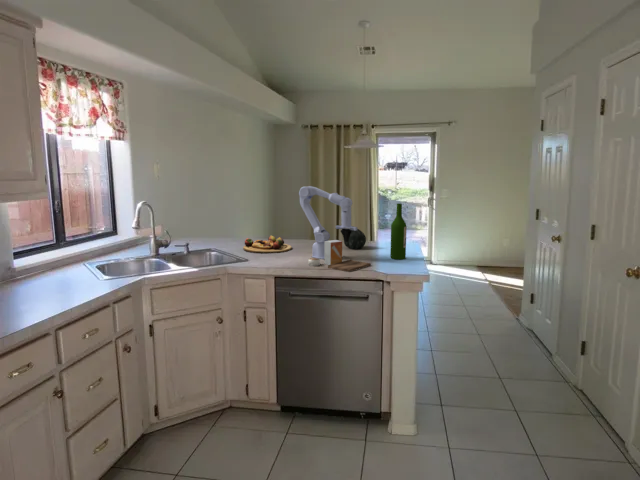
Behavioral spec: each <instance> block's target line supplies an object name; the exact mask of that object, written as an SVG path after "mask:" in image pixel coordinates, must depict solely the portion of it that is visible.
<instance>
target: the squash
mask: <svg viewBox="0 0 640 480" xmlns="http://www.w3.org/2000/svg"><path fill="white" fill-rule="evenodd" d="M366 242H367V237H366V235H365V233H364V232H363V231H362V230H361V229H359V228H357V230H356V231H354V230H352V232H351V234H350V237H349V241H348V242H344V241H343V243H344V246H345V247H347V248H349V249H352V250H354V249H355V250H360V249H362V248H363V247H364V246H365V245H366Z"/></svg>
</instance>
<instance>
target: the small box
mask: <svg viewBox="0 0 640 480" xmlns="http://www.w3.org/2000/svg"><path fill="white" fill-rule="evenodd" d="M323 260H324V262H323V263H324V264H325V265H327V266H328V265H331V264H335V263H339V262H343V241H342V240H338V239H333V240H330V239H329V240H328V241H325V252H324V259H323Z"/></svg>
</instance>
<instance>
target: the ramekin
mask: <svg viewBox="0 0 640 480" xmlns="http://www.w3.org/2000/svg"><path fill="white" fill-rule="evenodd" d="M320 260H321V259H320V258H314V257H310V258H308V260H307V265H308V266H310V267H318V266H321V265H320V264H321V263H320V262H321V261H320Z"/></svg>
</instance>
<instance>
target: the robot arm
mask: <svg viewBox="0 0 640 480" xmlns="http://www.w3.org/2000/svg"><path fill="white" fill-rule="evenodd" d="M298 195H299V205H300V207H301V209H302V211H303V212H304V214H305V217H306V218H307V220H308V221H309V222H308V223H310V225H311V227H312V229H313V235H314V240H315V242H314V243H313V244H312V247H311V248H312V256H311V258H319V259H320V260H324V252H325V241H330V238H331V234H330V232H329V231H327V230H326V228H325V227H324V226H323V225H322V224H321V222H320V220H319V217H318V216H317V214H316V212H315V211H314V209H313V207H312V205H311V204H310V202H311V200H312V198H313V197H314V196H319V197H322V198H325V199H328V201H329V202H330V203H332V204H335V205H337V206H340V208H341V212H340V213H341V216H340V217H341V218H340V219H341V220H340V221H341V225H335V229H336V230H338V229H339V230H340V233H341V235H342V237H343V243H344V242H348V241H349V237H350V234H351V232H352V230H354V231H356V230H357V229H358V226H353V225H352V206H353V200H352V199H351V198H350V197H346V196H345V195H340V194H339V193H338V192H332V193H330V192H327V191H325V190H323V189H322V188H321V189H320V188H318V187H316V186H312V185H308V186H305V185H304V186H302V187H300V189H299V192H298Z"/></svg>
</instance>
